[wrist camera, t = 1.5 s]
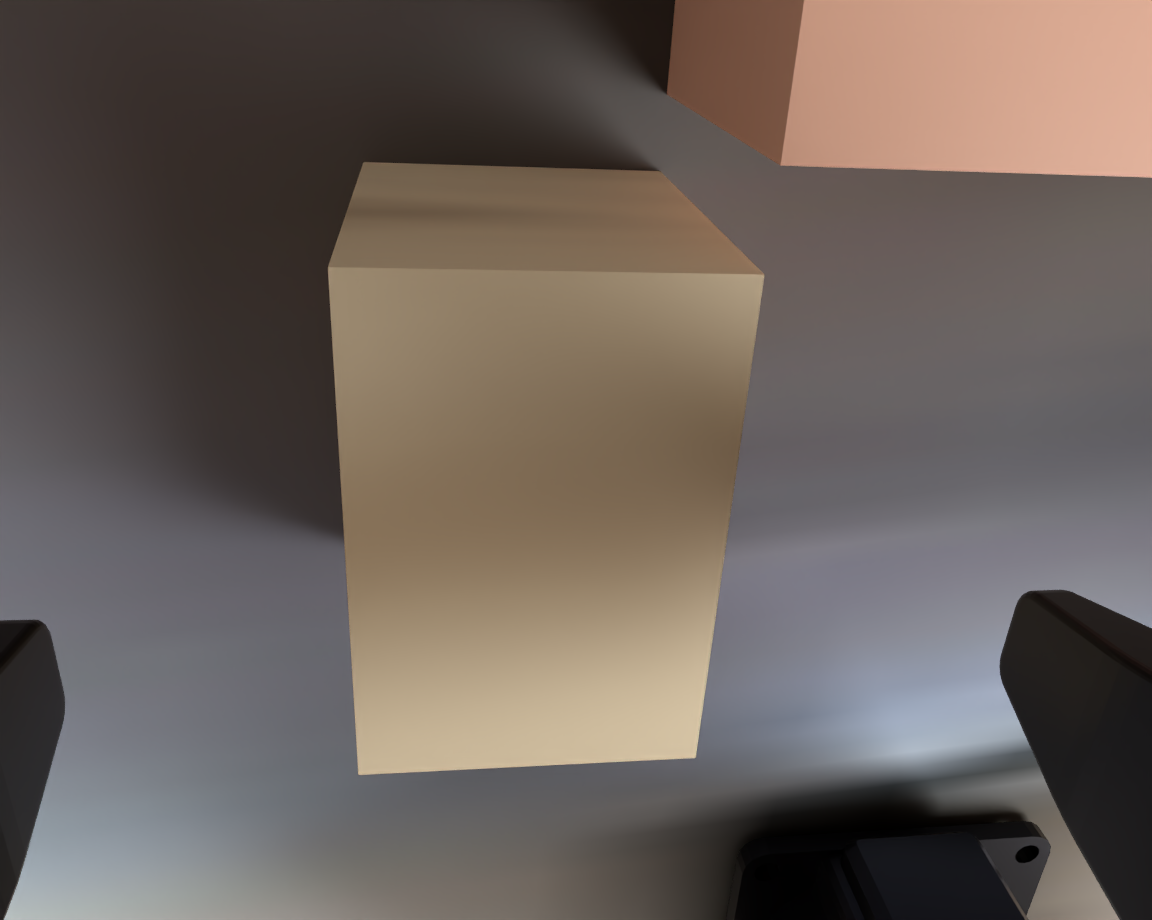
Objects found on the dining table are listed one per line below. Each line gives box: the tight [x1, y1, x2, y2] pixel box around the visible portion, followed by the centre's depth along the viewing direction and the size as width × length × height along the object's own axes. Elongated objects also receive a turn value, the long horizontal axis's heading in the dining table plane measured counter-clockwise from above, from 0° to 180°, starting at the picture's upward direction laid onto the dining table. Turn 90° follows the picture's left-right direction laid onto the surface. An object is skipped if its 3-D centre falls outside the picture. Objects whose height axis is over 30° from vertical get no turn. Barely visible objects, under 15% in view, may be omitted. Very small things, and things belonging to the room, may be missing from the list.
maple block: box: [328, 162, 764, 775], centre depth 13 cm, size 6×4×5 cm, turn 177°
